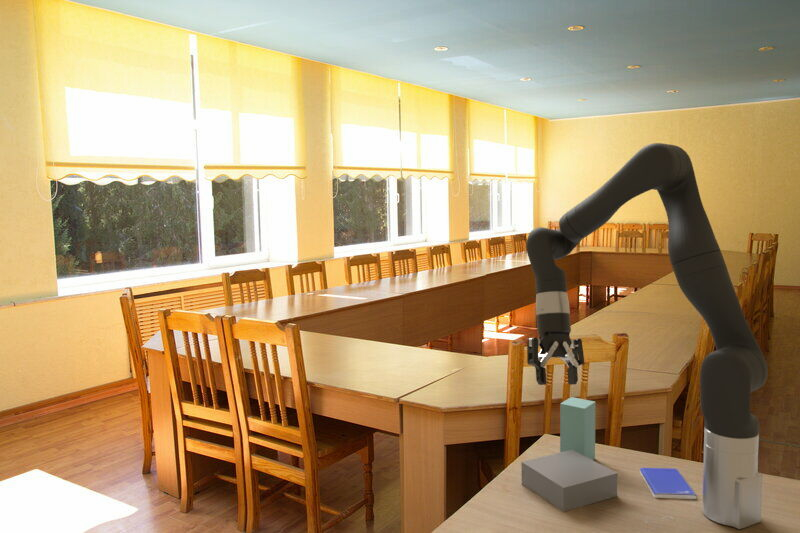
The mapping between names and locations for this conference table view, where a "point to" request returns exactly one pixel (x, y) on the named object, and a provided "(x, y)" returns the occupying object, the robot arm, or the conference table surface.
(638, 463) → the conference table surface
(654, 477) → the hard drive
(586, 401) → the carton
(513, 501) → the conference table surface
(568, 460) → the podium
